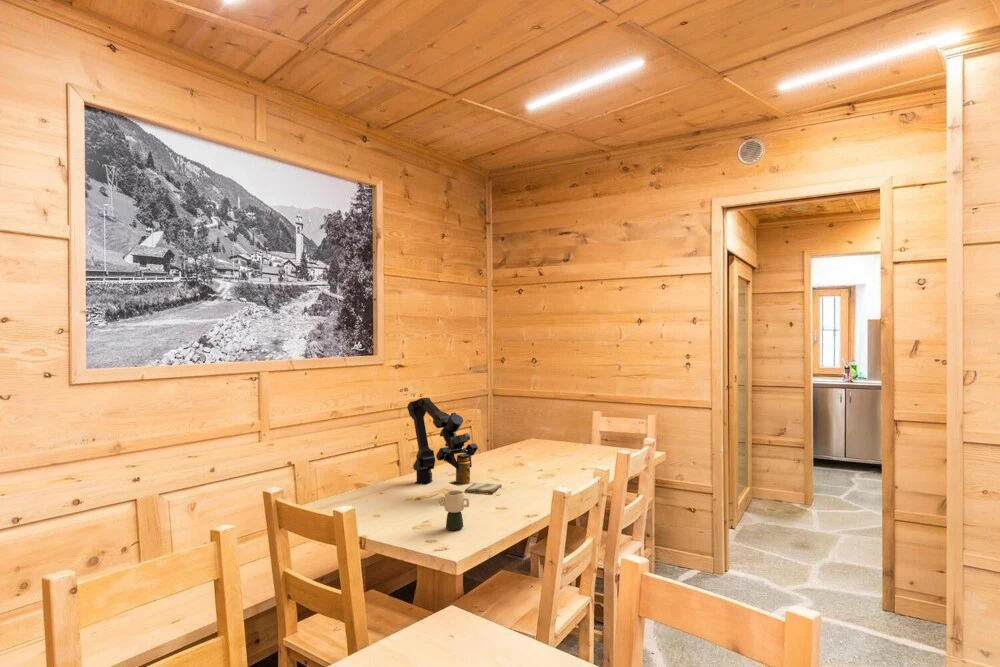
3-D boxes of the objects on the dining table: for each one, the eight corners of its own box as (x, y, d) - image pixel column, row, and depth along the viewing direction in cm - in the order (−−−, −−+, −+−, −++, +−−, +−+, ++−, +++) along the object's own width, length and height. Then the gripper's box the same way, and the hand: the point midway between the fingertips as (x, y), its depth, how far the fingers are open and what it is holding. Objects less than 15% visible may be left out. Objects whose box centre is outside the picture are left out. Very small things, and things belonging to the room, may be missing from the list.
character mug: (471, 526, 208) (471, 490, 208) (466, 532, 201) (466, 495, 201) (443, 524, 210) (442, 489, 210) (437, 531, 203) (436, 494, 203)
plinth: (464, 492, 255) (464, 488, 255) (475, 485, 267) (475, 482, 267) (492, 494, 251) (492, 491, 251) (501, 487, 263) (501, 483, 263)
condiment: (474, 483, 246) (474, 455, 246) (458, 486, 240) (458, 458, 240) (463, 480, 251) (463, 452, 252) (448, 483, 246) (448, 455, 246)
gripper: (439, 429, 244) (453, 459, 235) (475, 425, 255) (490, 454, 246) (430, 445, 250) (443, 475, 241) (465, 440, 262) (479, 469, 253)
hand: (464, 467), depth 245 cm, fingers closed on condiment, 6 cm apart
